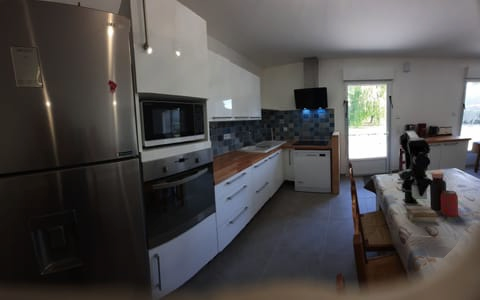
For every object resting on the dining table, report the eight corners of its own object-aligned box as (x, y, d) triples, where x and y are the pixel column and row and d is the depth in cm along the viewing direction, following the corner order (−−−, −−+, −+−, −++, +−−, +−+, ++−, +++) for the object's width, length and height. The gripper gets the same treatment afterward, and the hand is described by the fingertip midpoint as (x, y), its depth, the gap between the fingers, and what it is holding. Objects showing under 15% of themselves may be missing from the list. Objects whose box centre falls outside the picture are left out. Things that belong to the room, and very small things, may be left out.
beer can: (450, 211, 125) (449, 189, 124) (462, 216, 118) (461, 192, 117) (437, 213, 125) (437, 191, 124) (449, 217, 118) (448, 194, 117)
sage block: (412, 196, 123) (411, 184, 123) (423, 196, 121) (423, 184, 121) (414, 199, 119) (414, 187, 118) (427, 199, 117) (426, 187, 116)
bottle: (440, 212, 126) (439, 175, 124) (427, 208, 132) (426, 173, 130) (450, 209, 127) (449, 173, 126) (436, 206, 134) (435, 171, 132)
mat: (404, 213, 129) (404, 212, 129) (429, 214, 125) (429, 213, 125) (411, 223, 116) (411, 223, 116) (439, 225, 112) (439, 224, 112)
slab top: (405, 210, 126) (405, 206, 126) (426, 210, 124) (426, 205, 124) (413, 217, 117) (413, 212, 117) (436, 217, 115) (436, 212, 114)
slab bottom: (406, 214, 127) (406, 210, 127) (428, 214, 123) (428, 210, 123) (412, 221, 118) (411, 216, 118) (435, 222, 114) (435, 217, 114)
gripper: (395, 161, 130) (396, 189, 132) (403, 168, 113) (405, 200, 114) (419, 161, 126) (420, 189, 127) (432, 167, 109) (433, 200, 110)
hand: (419, 194), depth 120 cm, fingers closed on sage block, 5 cm apart
